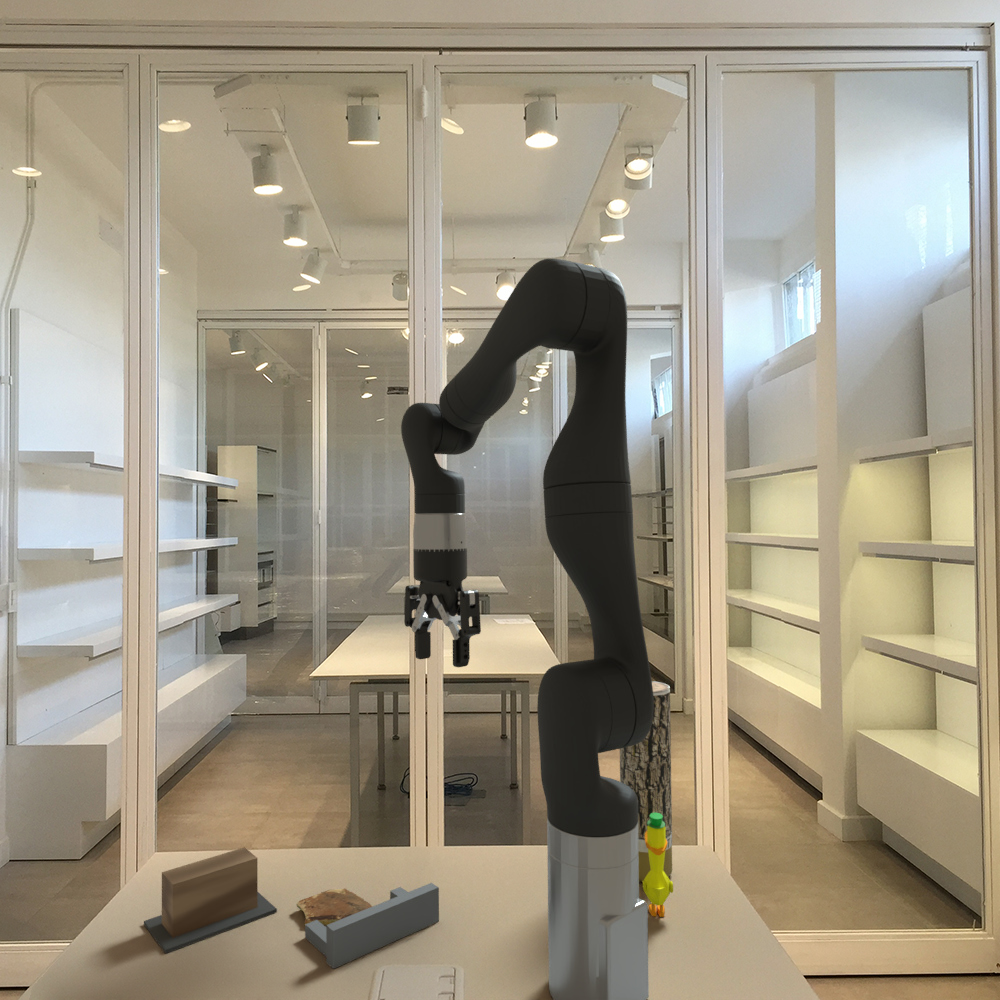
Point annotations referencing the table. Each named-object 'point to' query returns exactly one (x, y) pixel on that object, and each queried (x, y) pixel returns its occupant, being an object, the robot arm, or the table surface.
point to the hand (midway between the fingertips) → (441, 662)
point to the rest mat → (206, 927)
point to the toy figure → (656, 865)
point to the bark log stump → (652, 776)
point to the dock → (375, 925)
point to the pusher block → (209, 891)
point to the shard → (331, 906)
